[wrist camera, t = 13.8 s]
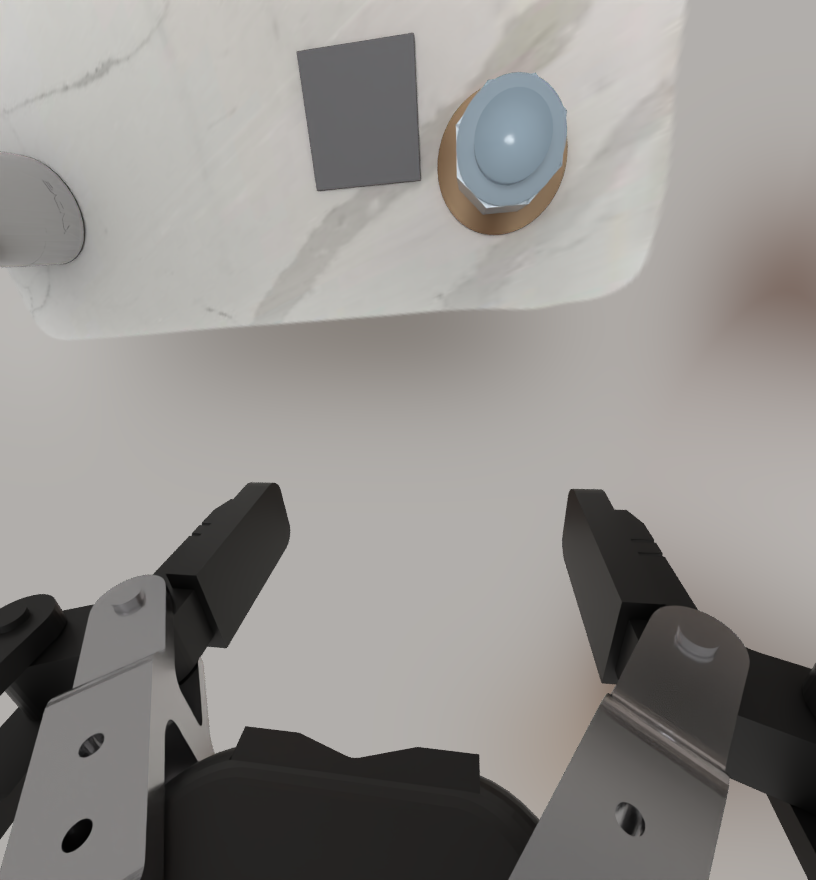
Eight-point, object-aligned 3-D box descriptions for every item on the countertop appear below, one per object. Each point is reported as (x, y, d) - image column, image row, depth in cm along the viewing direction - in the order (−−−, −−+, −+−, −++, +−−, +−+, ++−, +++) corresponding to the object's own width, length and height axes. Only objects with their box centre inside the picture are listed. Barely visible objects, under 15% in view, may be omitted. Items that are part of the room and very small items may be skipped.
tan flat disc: (440, 239, 34) (439, 239, 34) (435, 93, 30) (435, 90, 29) (558, 230, 33) (560, 229, 32) (572, 75, 28) (575, 70, 28)
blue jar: (459, 217, 33) (456, 208, 24) (457, 117, 30) (453, 69, 21) (541, 209, 32) (567, 197, 23) (548, 105, 29) (580, 50, 20)
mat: (318, 190, 34) (316, 190, 34) (298, 53, 30) (296, 51, 30) (420, 180, 33) (420, 179, 32) (413, 35, 29) (413, 32, 28)
